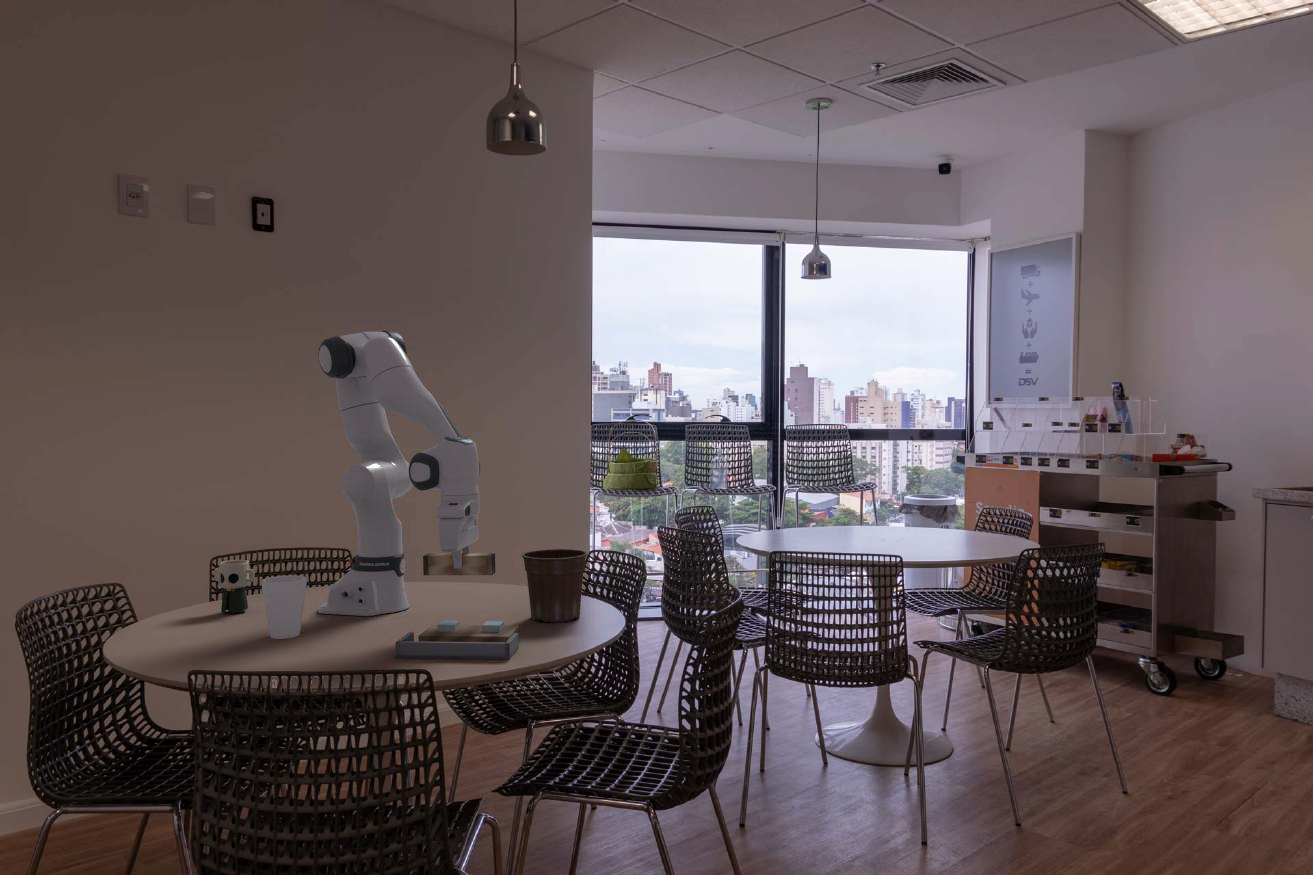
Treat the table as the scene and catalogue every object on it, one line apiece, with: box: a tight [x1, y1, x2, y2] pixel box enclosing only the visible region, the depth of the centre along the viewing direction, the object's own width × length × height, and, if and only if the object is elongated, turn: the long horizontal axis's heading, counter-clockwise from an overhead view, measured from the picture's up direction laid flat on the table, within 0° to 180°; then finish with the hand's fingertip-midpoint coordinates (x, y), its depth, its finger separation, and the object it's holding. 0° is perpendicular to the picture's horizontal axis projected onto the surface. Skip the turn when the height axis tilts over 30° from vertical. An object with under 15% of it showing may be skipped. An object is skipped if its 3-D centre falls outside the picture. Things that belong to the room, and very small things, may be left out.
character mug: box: [213, 559, 255, 614], centre depth 236 cm, size 11×7×13 cm, turn 82°
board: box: [418, 624, 520, 642], centre depth 206 cm, size 20×10×2 cm, turn 87°
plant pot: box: [521, 548, 588, 623], centre depth 230 cm, size 16×16×16 cm
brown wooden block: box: [422, 552, 496, 576], centre depth 214 cm, size 16×4×4 cm, turn 86°
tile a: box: [436, 620, 461, 632], centre depth 207 cm, size 4×4×2 cm
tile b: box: [481, 620, 505, 632], centre depth 206 cm, size 4×4×2 cm
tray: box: [395, 631, 519, 661], centre depth 196 cm, size 24×9×3 cm, turn 87°
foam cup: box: [261, 575, 308, 640], centre depth 212 cm, size 10×9×13 cm
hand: (461, 565), depth 214 cm, fingers closed on brown wooden block, 3 cm apart
